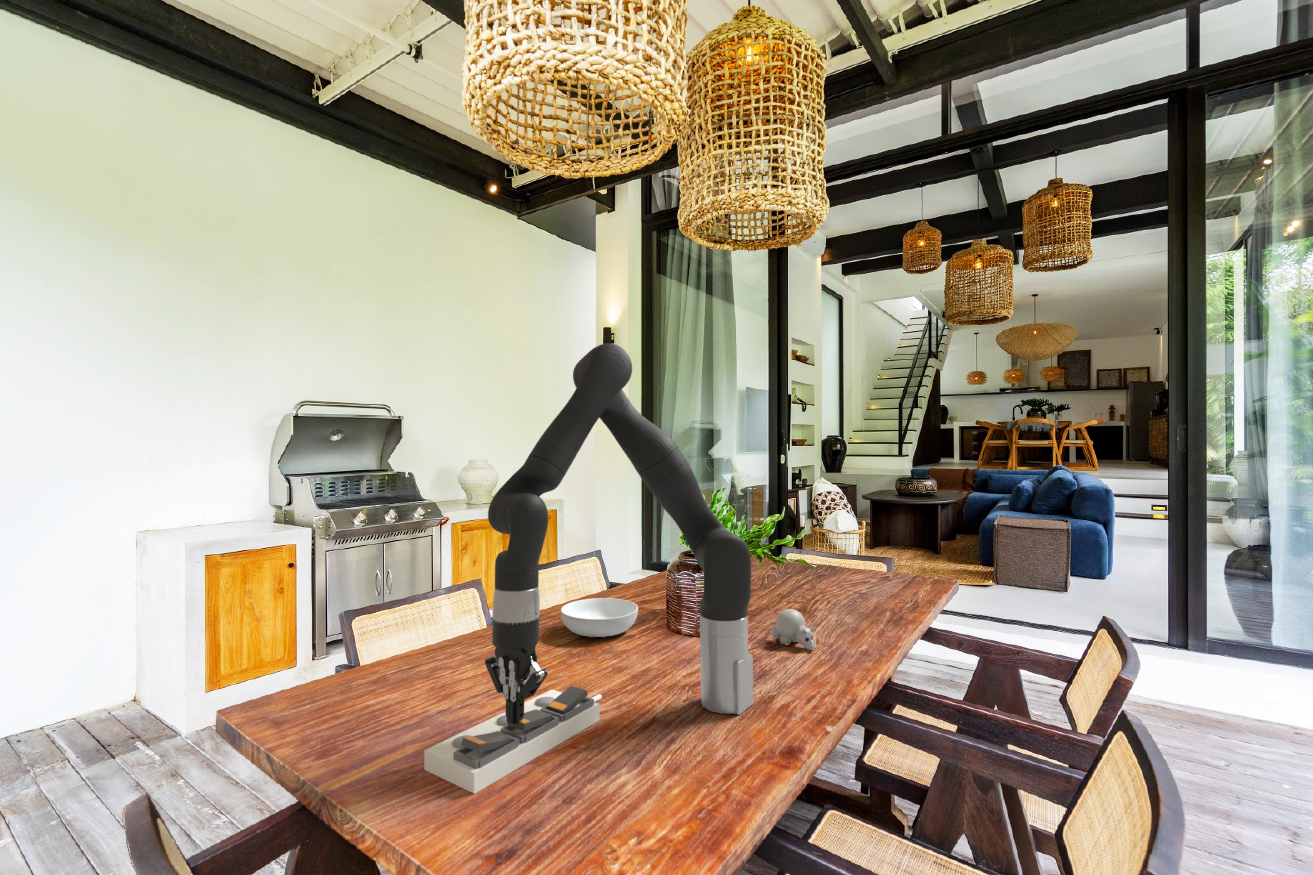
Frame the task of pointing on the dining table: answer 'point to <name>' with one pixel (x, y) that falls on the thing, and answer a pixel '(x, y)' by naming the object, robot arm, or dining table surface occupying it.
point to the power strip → (526, 745)
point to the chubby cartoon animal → (793, 629)
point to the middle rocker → (532, 720)
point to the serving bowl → (599, 616)
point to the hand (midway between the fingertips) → (514, 721)
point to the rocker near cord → (567, 700)
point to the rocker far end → (486, 741)
